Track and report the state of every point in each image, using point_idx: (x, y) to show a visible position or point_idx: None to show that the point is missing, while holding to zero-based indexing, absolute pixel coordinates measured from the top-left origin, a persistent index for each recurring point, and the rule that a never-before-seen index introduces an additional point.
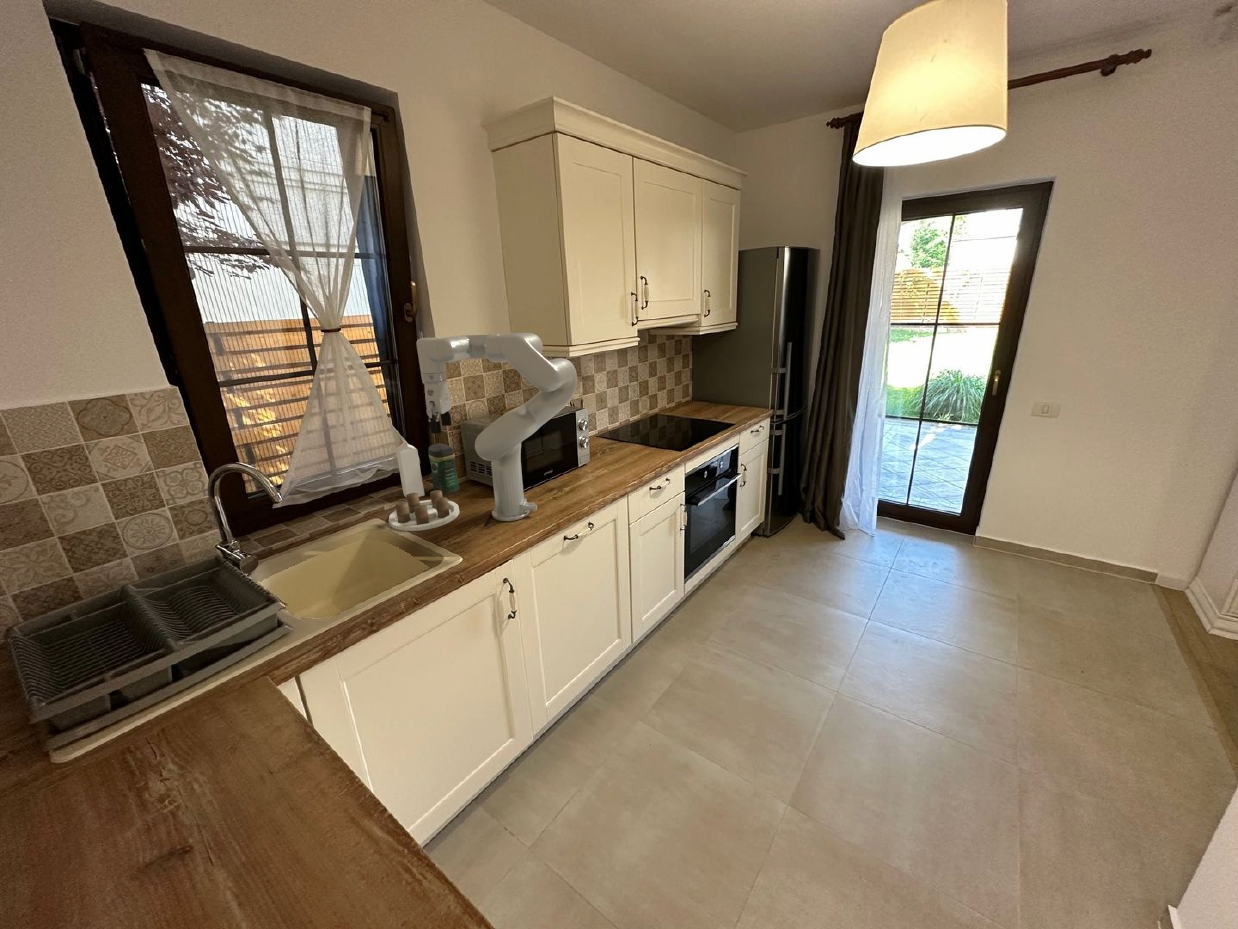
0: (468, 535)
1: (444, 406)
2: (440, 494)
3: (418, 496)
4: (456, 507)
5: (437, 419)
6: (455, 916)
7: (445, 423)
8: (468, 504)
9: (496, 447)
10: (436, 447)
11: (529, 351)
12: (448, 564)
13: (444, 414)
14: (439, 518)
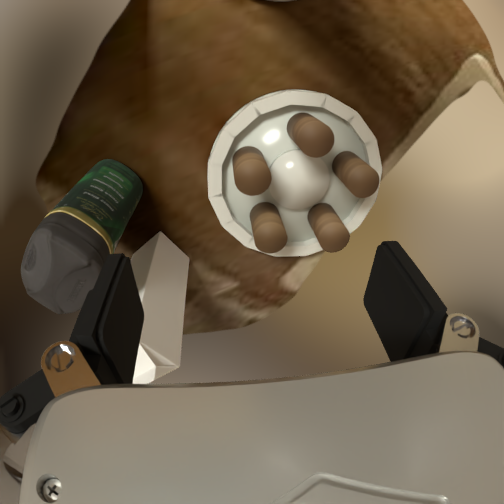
0: (397, 46)
1: (447, 444)
2: (259, 160)
3: (265, 221)
4: (270, 103)
5: (468, 329)
6: None
7: (135, 305)
8: (201, 89)
9: None
10: (72, 287)
11: None
12: (487, 77)
13: (113, 374)
14: None
